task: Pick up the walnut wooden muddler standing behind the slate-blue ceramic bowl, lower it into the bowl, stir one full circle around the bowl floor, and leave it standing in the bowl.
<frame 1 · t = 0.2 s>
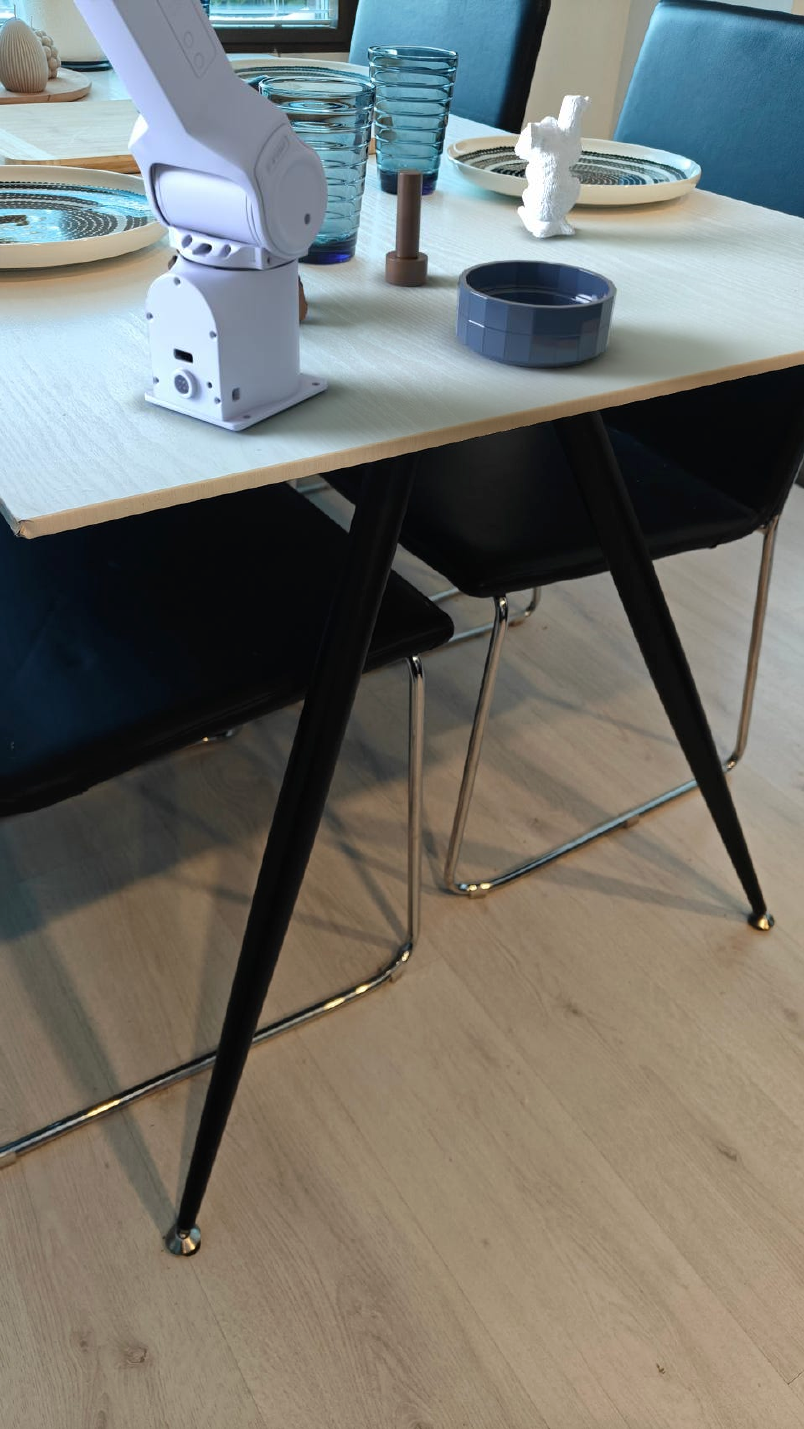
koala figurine: (546, 236, 107), on the table
muddler: (405, 280, 93), on the table
bowl: (530, 344, 82), on the table
pottery mug: (246, 312, 86), on the table
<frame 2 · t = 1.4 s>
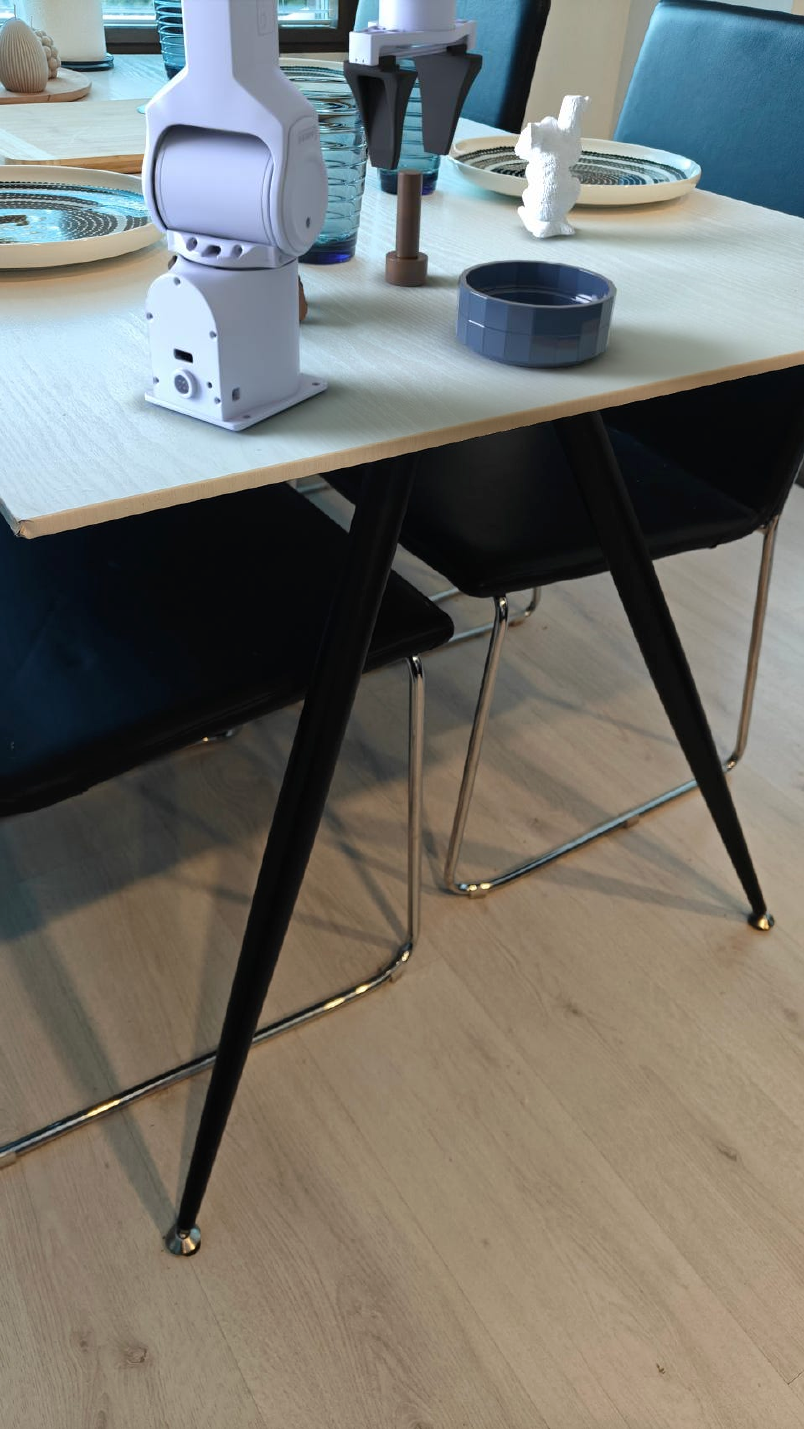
hand: (411, 160, 88), 9 cm above the table, tool pointing down, fingers open, 7 cm apart
nothing on the table moved.
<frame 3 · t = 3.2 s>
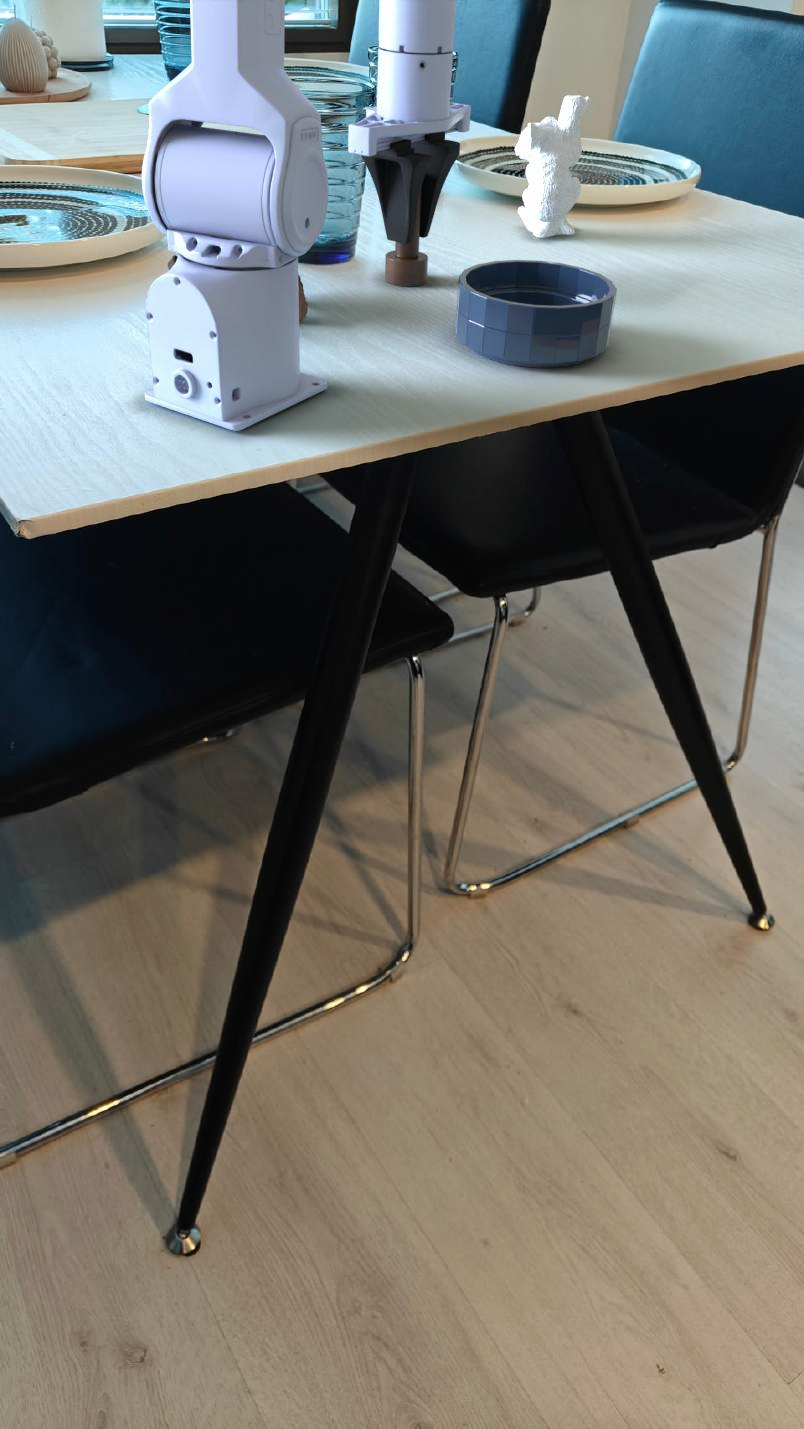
hand: (407, 238, 91), 3 cm above the table, tool pointing down, fingers closed on muddler, 2 cm apart
muddler: (405, 280, 93), on the table, touching gripper
everything else where it was.
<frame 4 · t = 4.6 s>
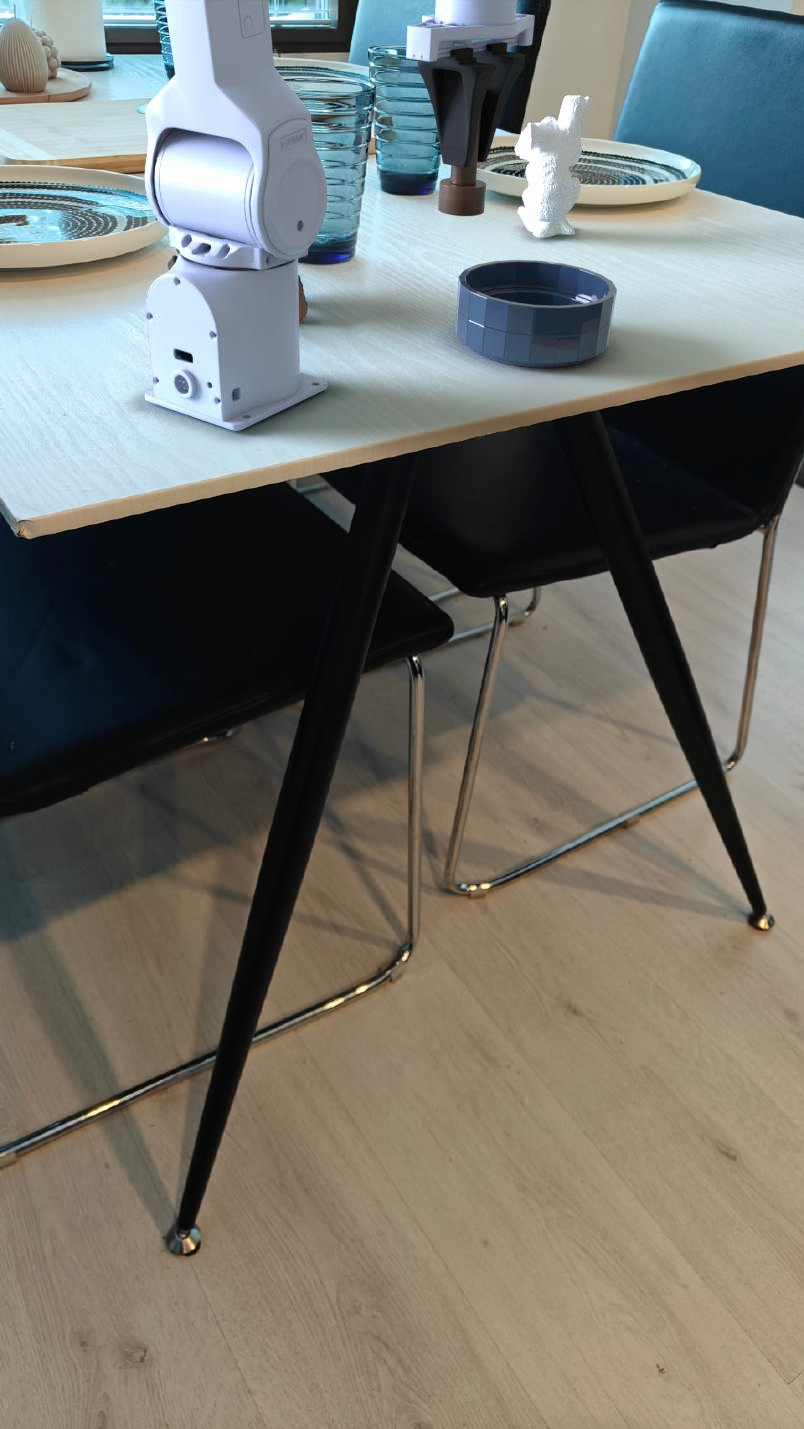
hand: (464, 162, 83), 10 cm above the table, tool pointing down, fingers closed on muddler
muddler: (461, 210, 85), point 7 cm above the table, touching gripper
everything else where it was.
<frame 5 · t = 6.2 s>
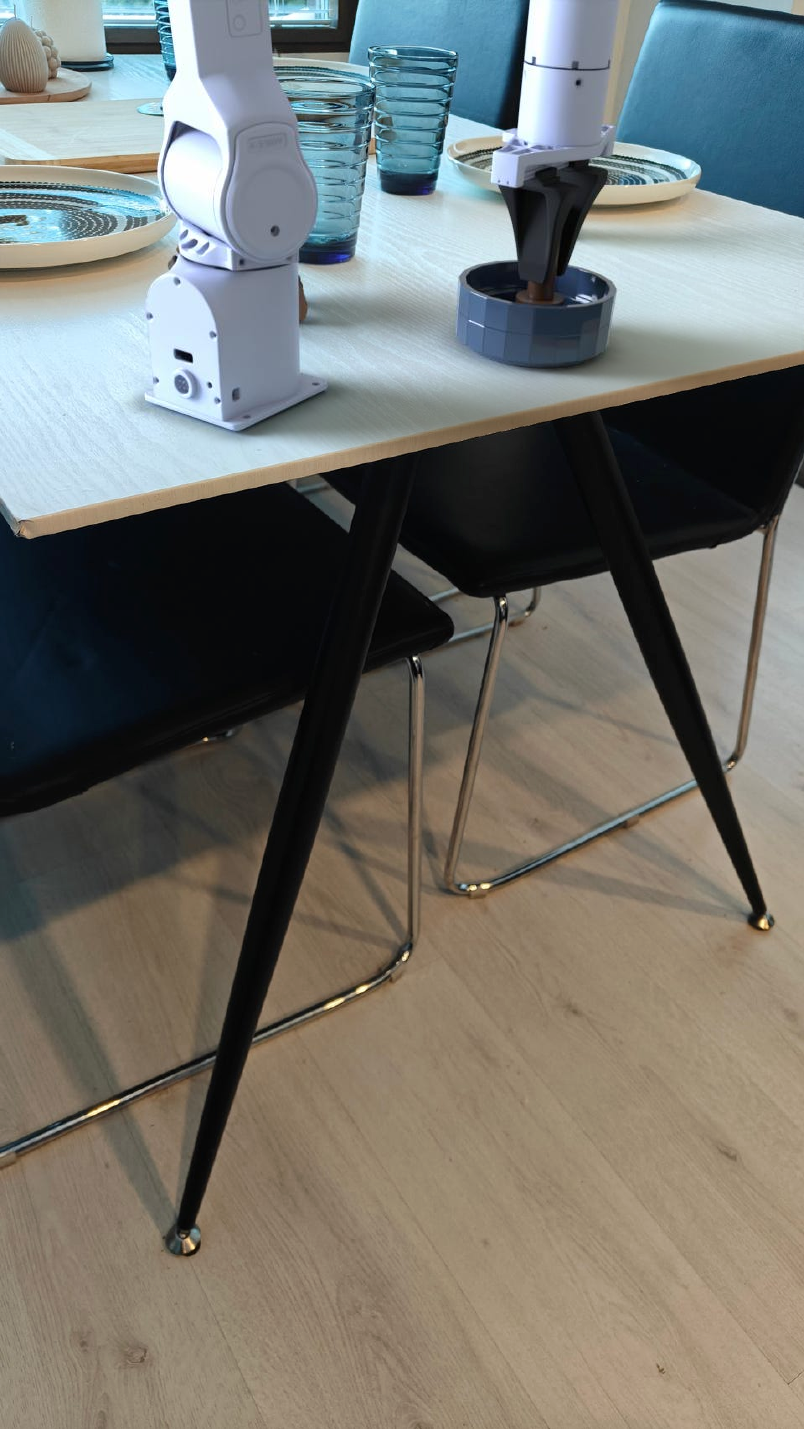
hand: (542, 277, 80), 5 cm above the table, tool pointing down, fingers closed on muddler, 2 cm apart
muddler: (537, 323, 82), point 1 cm above the table, touching gripper
everything else where it was.
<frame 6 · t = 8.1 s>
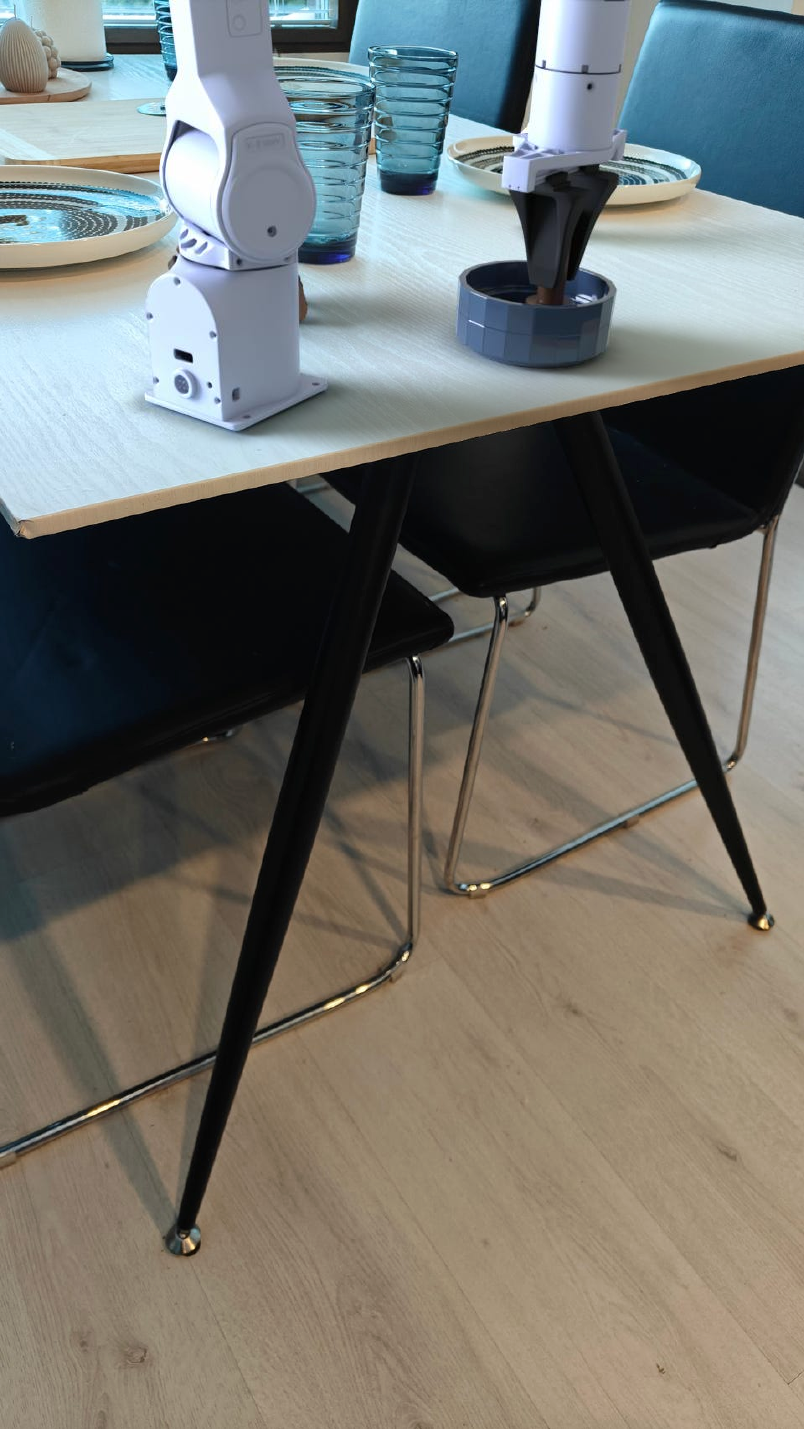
hand: (552, 281, 80), 4 cm above the table, tool pointing down, fingers closed on muddler, 2 cm apart
muddler: (546, 328, 82), point 1 cm above the table, touching gripper
everything else where it was.
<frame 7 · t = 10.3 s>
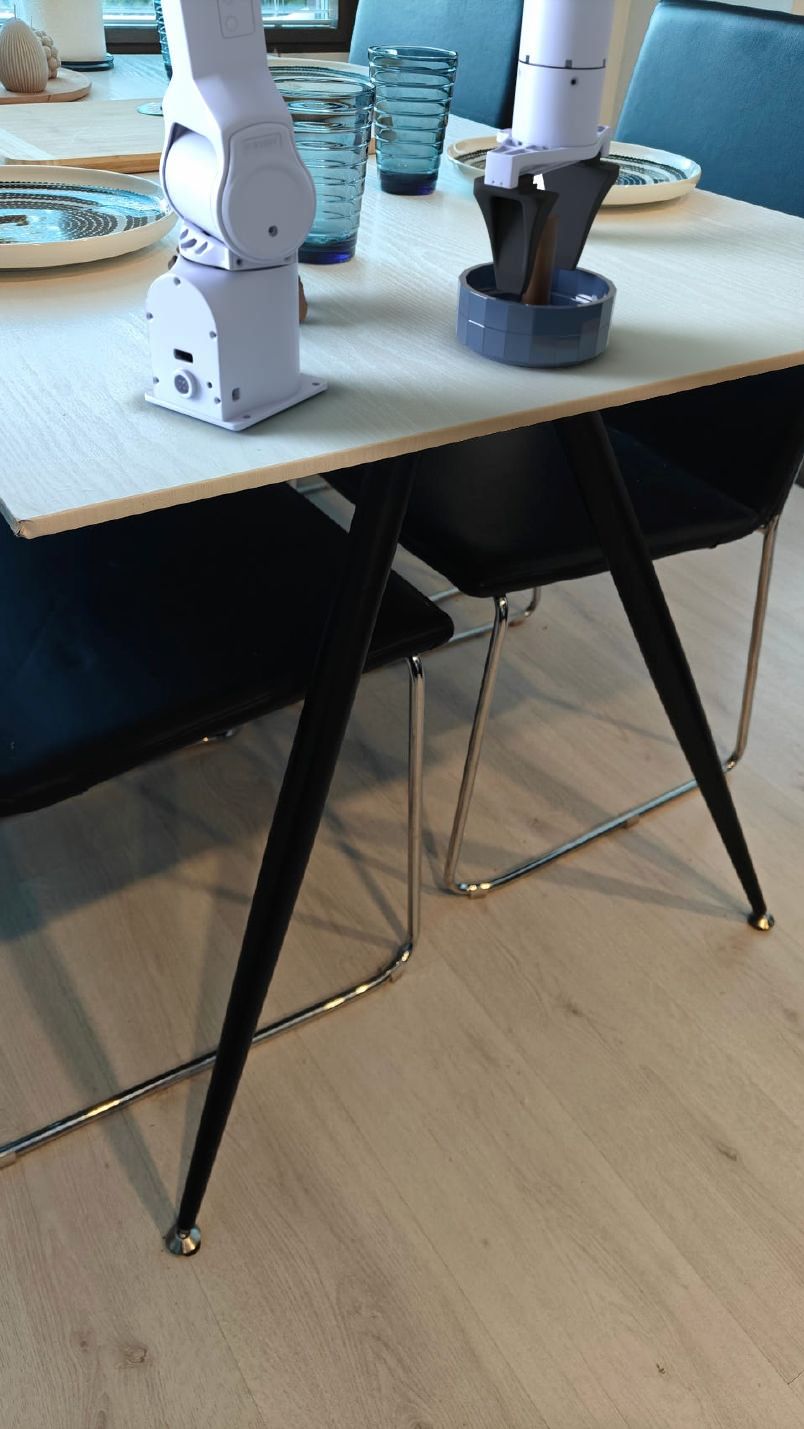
hand: (537, 279, 79), 5 cm above the table, tool pointing down, fingers open, 7 cm apart
muddler: (531, 336, 82), point 1 cm above the table, touching bowl
everything else where it was.
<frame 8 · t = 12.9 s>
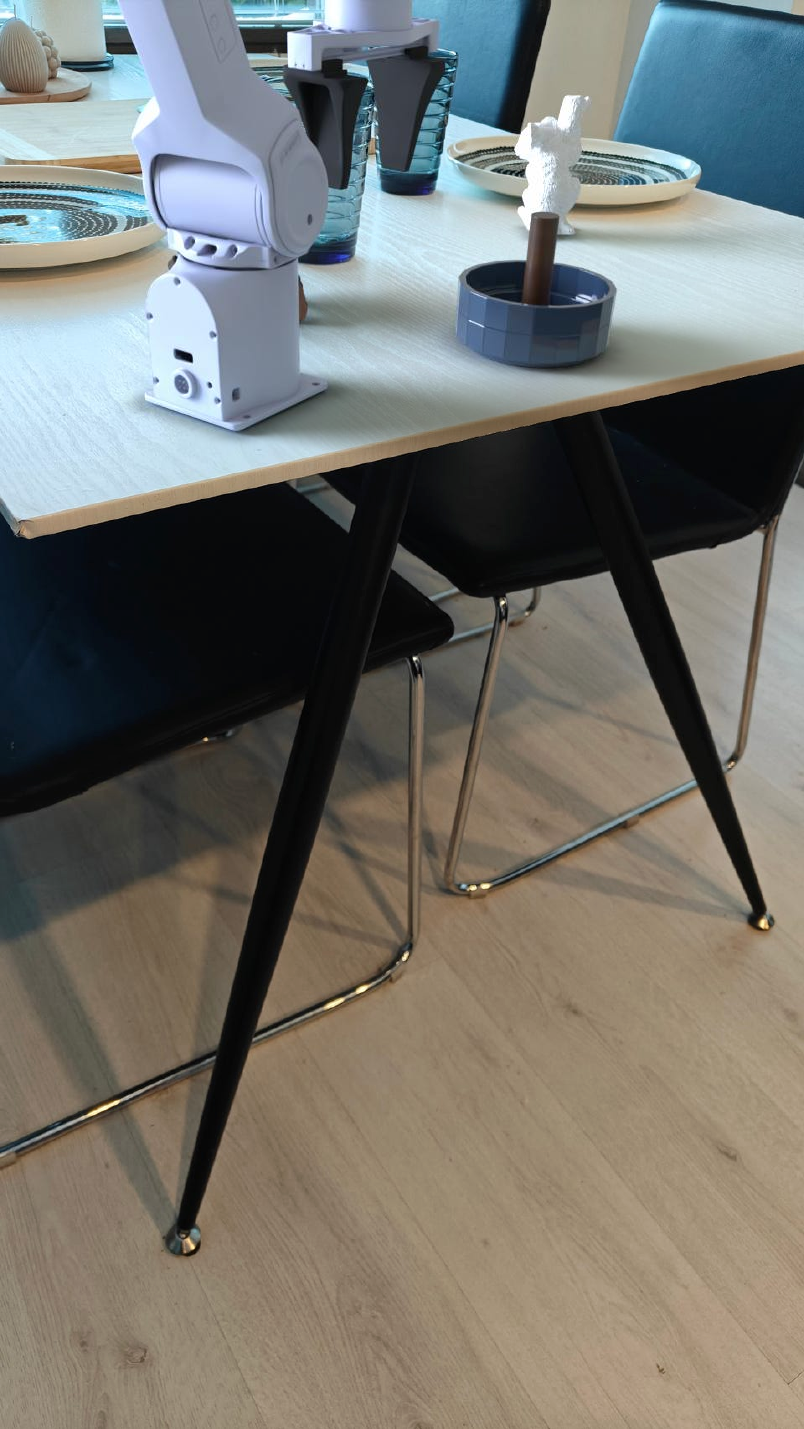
hand: (365, 178, 77), 10 cm above the table, tool pointing down, fingers open, 7 cm apart
nothing on the table moved.
at the end: muddler 0.0 cm off-centre in the bowl, point 0.6 cm above the bowl's base; the gripper is holding nothing; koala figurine moved 0.2 cm from its start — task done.
